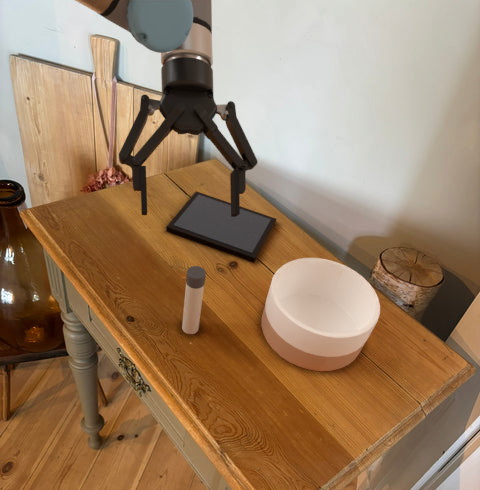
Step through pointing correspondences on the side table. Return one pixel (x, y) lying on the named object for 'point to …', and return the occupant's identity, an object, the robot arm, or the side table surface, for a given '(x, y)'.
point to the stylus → (193, 299)
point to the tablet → (222, 226)
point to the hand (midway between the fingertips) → (190, 214)
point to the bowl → (319, 313)
